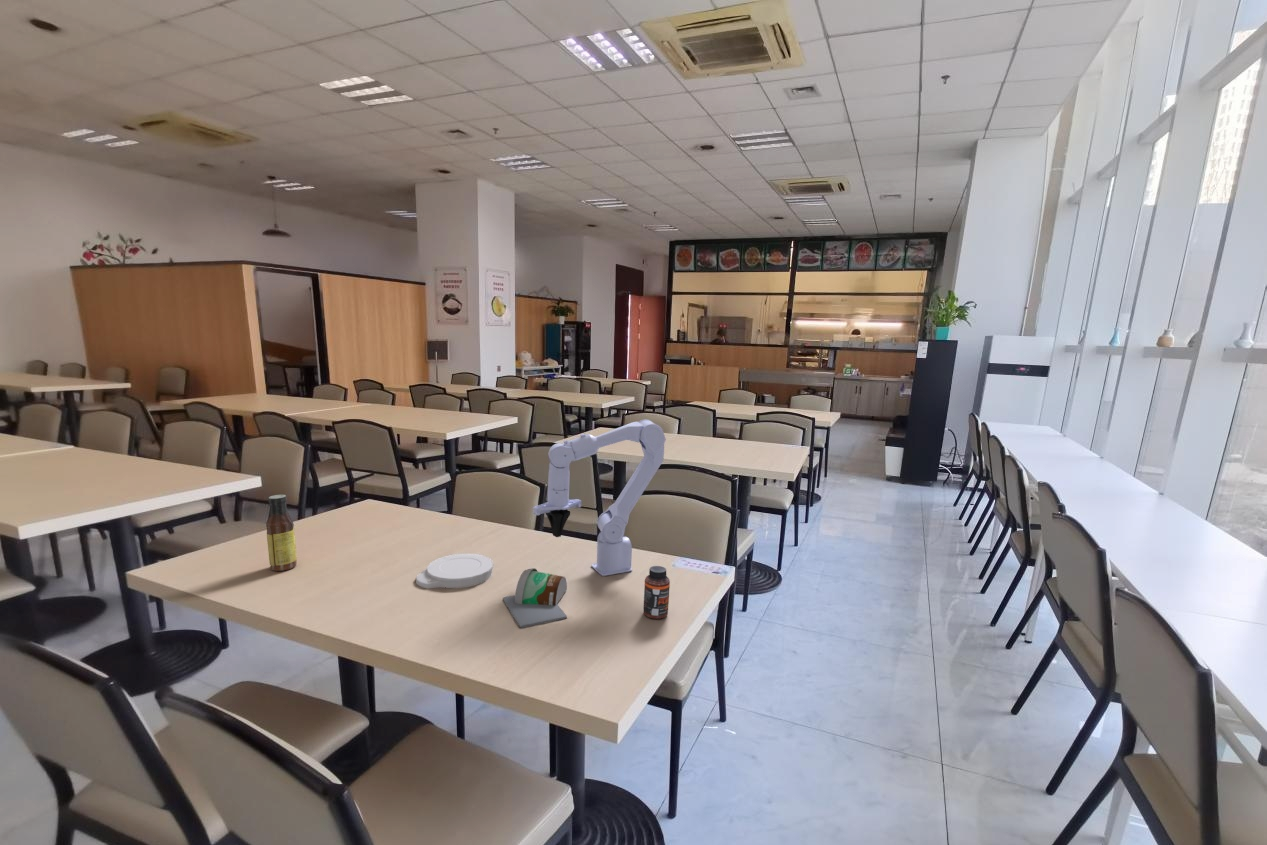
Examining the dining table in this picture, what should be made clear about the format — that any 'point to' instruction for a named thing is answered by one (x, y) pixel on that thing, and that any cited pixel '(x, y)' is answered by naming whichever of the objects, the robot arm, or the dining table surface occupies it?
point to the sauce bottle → (280, 535)
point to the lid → (456, 571)
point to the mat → (533, 612)
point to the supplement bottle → (656, 593)
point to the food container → (539, 588)
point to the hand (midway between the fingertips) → (556, 535)
